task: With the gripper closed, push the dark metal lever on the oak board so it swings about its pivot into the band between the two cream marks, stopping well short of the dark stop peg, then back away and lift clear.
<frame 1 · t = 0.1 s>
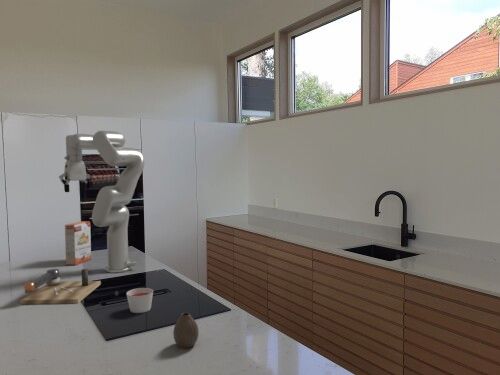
hand: (75, 191, 209), 37 cm above the counter, tool pointing down, fingers open, 9 cm apart
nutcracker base: (53, 288, 164), on the counter
candle: (140, 310, 138), on the counter
lever: (42, 279, 155), point 6 cm above the counter, hinge at 0.0°
vase: (186, 345, 110), on the counter
cracker box: (79, 262, 209), on the counter
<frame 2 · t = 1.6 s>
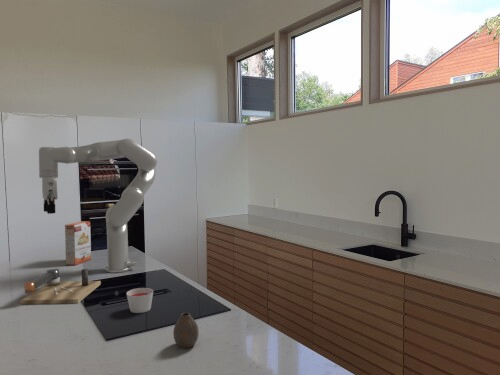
hand: (49, 212, 179), 30 cm above the counter, tool pointing down, fingers open, 9 cm apart
nothing on the counter moved.
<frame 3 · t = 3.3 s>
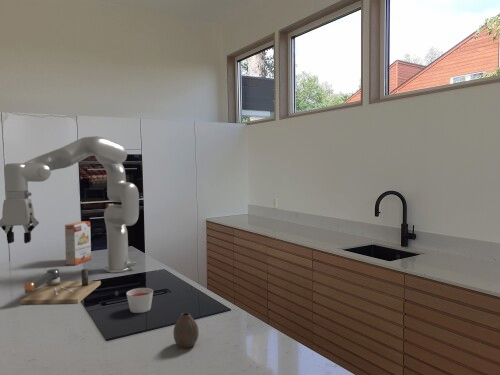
hand: (19, 242, 152), 22 cm above the counter, tool pointing down, fingers open, 5 cm apart
nothing on the counter moved.
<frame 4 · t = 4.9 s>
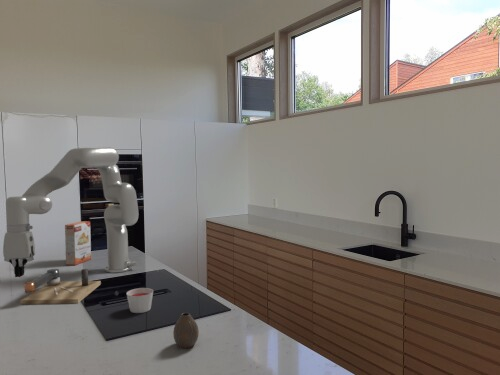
hand: (19, 276, 153), 8 cm above the counter, tool pointing down, fingers closed
nothing on the counter moved.
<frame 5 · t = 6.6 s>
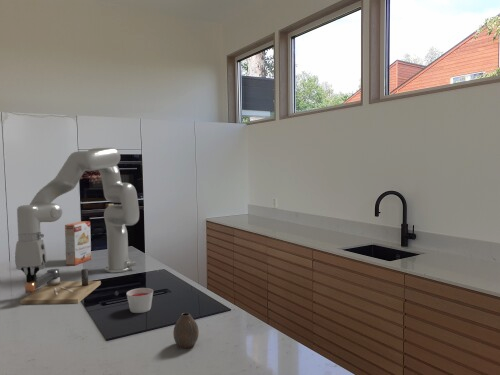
hand: (31, 284, 153), 5 cm above the counter, tool pointing down, fingers closed
lever: (42, 279, 155), point 6 cm above the counter, hinge at 0.8°, touching gripper
everything else where it was.
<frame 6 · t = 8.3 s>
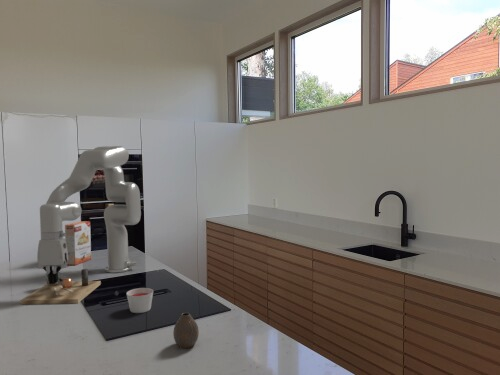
hand: (53, 283, 153), 5 cm above the counter, tool pointing down, fingers closed
lever: (59, 278, 158), point 6 cm above the counter, hinge at 40.9°, touching gripper
everything else where it was.
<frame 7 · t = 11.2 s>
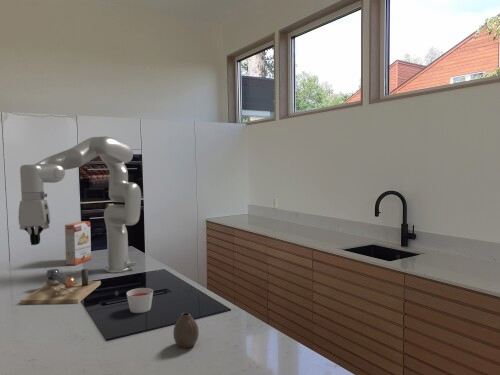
hand: (35, 244, 152), 21 cm above the counter, tool pointing down, fingers closed
lever: (60, 277, 158), point 6 cm above the counter, hinge at 44.0°
everything else where it was.
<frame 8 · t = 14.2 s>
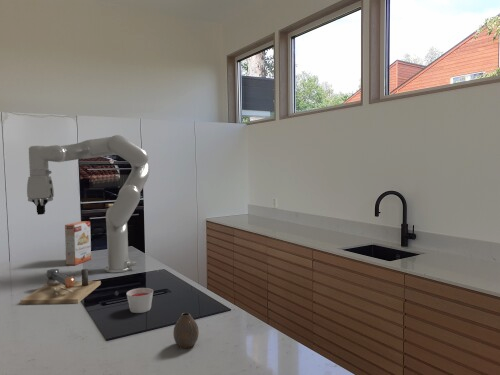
hand: (41, 214, 179), 29 cm above the counter, tool pointing down, fingers closed
nothing on the counter moved.
at the end: lever at +44° (first picture: +0°) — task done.
